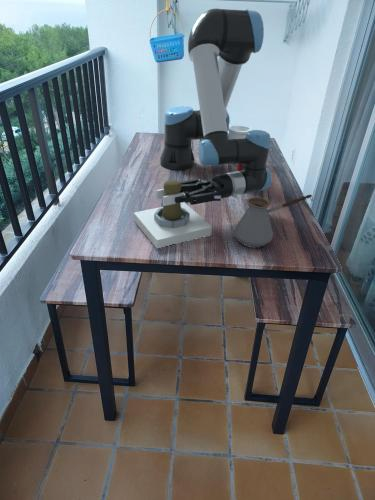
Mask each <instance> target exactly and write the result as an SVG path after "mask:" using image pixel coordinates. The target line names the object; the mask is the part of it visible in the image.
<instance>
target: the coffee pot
mask: <svg viewBox="0 0 375 500" xmlns="http://www.w3.org/2000/svg"><path fill="white" fill-rule="evenodd" d="M307 199H310V201H311V202H313V201H314V198H313V195H312V194H307V195H304V196H301V197H298V198H295V199H292V200H289V201H287V202H285V203H283V204H280V205H277V206H275V207H272V208H269V207H270V205H271V203H270V201H269V200H268V199H266V198H262V197H256V196H255V197H250V198H248V199H247V201H246V203H247V206H248V207H247V208H246V210H245V212H244V213H243V215H242V216H241V219H239V221H238V223H237V224H236V226H235V228H234V230H233V232H234V236H235V238H236V239H237V241H239V243H240V244H242V243H243V244H245V245H247V246H250V247H249V248H251V247H259V248H261V247H260V246H262V247H264V246H267V244H269V243H270V242H271V241H272V240H273V237H274V231H273V227H272V224H271V221H270V217H269V213H272V212H275V211H277V210H280V209H283V208H286V207H289V206H292V205H296V204H298V203H300V202H302V201H305V200H307ZM268 208H269V209H268ZM243 244H242V245H243ZM247 246H246V247H247Z"/></svg>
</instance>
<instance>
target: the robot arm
mask: <svg viewBox="0 0 375 500" xmlns="http://www.w3.org/2000/svg"><path fill="white" fill-rule="evenodd" d="M264 30H265V29H264V21H263V17H262V15H261V13H259V11H256V10H249V9H248V8H247V9H245V10H244V9H243V10H242V9H227V8H226V9H225V8H211V9H208V10H206V11H204V12H203V13H202V14H200V16H198V17H197V19H196V21H195V22H194V23H193V25H192V27H191V29H190V32H189V36H188V42H187V51H188V58H189V60H190V62H192V65H193V70H194V78H195V85H196V91H197V98H198V107H199V110H194V109H193V108H192V107H191V106H187V105H186V106H185V105H183V106H182V105H180V106H174V107H171V108H169V109H167V110H165V112H164V121H163V125H164V130H163V131H164V136H163V137H164V146H163V150H162V153H161V156H160V166H162V167H164V168H167V169H171V170H186V169H187V170H188V169H191V168H193V167H194V166H195V164H196V163H195V162H196V159H195V156H194V152H193V148H192V142H193V140H194V141H195V140H199V143H198V146H197V155H198V160H199V163H200V164H201V165H202V166H209V167H211V166H212V167H213V166H215V167H216V166H224V165H225V166H226V165H235V164H243V165H242V170H241V171H237V170H236V171H230V172H227V173H219V174H215V175H213V177H212V179H210V180H207V179H206V180H202V177H195V178H194V179H193V178H192V179H188V180H183V181H179V182H180V184H181V191H180V192H179V193H178V194H173V195H167V196H165V191H164V188H160V189H156V193H155V194H156V200H162V205H164V206H166V205H171V204H176V203H186V204H187V203H188V204H189V205H191V206H193V205H199V204H205V203H210V202H211V203H212V202H219V201H221V200H222V199H225V198H230V197H236V196H239V195H244V194H250V193H251V194H252V193H257V192H261V191H264V190H266V189H269V188H270V186H271V184H272V181H273V178H272V172H271V171H270V169H269V168H268V167H267V162H268V157H269V152H270V149H271V148H270V146H271V135H270V133H269V132H267V131H265V130H260V129H252V130H251V131H248V132H247V133H246V136H245V138H244V139H229V137H228V133H229V131H228V129H229V127H230V126H229V125H230V123H231V122H230V121H231V120H230V114H229V112H228V109H227V107H228V104H229V102H230V99H231V97H232V93H233V91H234V89H235V85H236V82H237V80H238V77H239V74H240V72H241V70H242V67H243V65H245V64H247V63H248V61H249V60H250V58H251V55H252V53H253V54H257V53H259V52H260V51H261V49H262V47H263V43H264V34H265V32H264ZM200 139H204V140H202V141H200Z"/></svg>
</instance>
